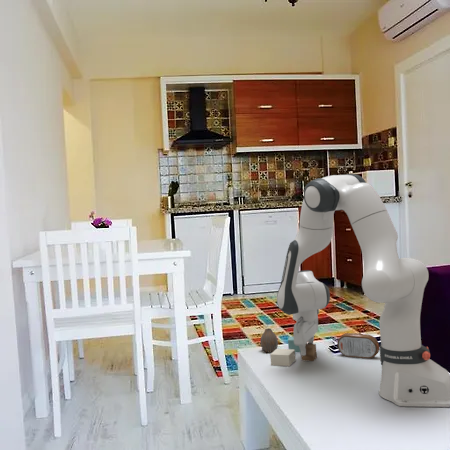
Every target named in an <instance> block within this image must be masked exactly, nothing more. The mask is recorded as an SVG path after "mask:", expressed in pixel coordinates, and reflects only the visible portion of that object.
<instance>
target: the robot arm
mask: <svg viewBox="0 0 450 450" xmlns="http://www.w3.org/2000/svg"><path fill="white" fill-rule="evenodd" d="M302 199H303V200H302V203H301V210H300V216H299V228H298V232H297V234H296V236H295V238H294V239H293V240H292V241H291V242H290V243H289V244H288V249H287V251H286V256H285V261H284V266H283V272H282V275H281V276H282V277H281V282H280V285H279V288H278V291H277V295H276V303H277V307H278V309H279V310H280V311H281V312H283V313H284V314H286V315H288V316H290V315H292V320H294V321H296V323H294V325H293V337H294V344H295V346H299V348H300V351H301V352H300V356H301V355H303V356H305V355H306V354H307V351H306V348H305V346H306V344H314V340H315V335H316V334H317V333H318V330H319V316H318V315H319V314H320V310H322V309H325V308H326V307H328V305H329V304H330V301H331V292H330V288H329V287H328V285H326V284H325V283H323V282H321V281H319V280H318V279H316V277H315V276H314V272H313V271H312V270H309V269H305V270H299V269H300V267H301V264H302V263H303V262H305V260H306V259H308V258H309V257H311V256H313V255H315V254H317V253H320V252H321V251H323V250H325V249H326V248H327V247H328V246H329V245H330V243H331V241H332V239H333V231H334V214H335V211H344V213H345V214H346V215H347V217H348V220H349V223H350V225H351V227H352V229H353V232H354V235H355V236H356V239H357V241H358V245H359V246H360V249H361V254H362V259H363V268H364V269H363V270H364V271H363V272H364V273H363V276H362V279H361V288H362V291H363V293H364V295H365V296H366V297H367V298H368V299H369V300H370V301H372V302H373V303H374V302H375V303H378V304H380V303H381V304H384V306H383V311H382V313H381V314H380V317H379V322H378V323H379V334H380V335H379V336H380V344H379V346H380V349H379V359H380V365H381V378H380V385H379V390H378V395H379V396H380V397H381V398H382V399H385V400H386V401H390V402H391V403H393V404H395V405H396V406H398V407H419V408H420V407H421V408H422V407H425V408H426V407H429V408H431V407H432V408H433V407H434V408H441V407H443V408H450V372H449V371H448V370H447V369H446V368H444V367H443V366H441V365H440V364H438V363H437V362H435V361H434V360H432V359H430V358H431V352H430V349H429V347H428V346H424V345H423V344H422V340H421V339H422V337H421V312H422V305H423V304H422V303H423V298H424V292H425V288H426V286H427V283H428V281H429V279H430V278H429V275H430V274H429V270H428V268H427V266H426V265H425V263H423V262H422V261H421V260H420V259H417V258H413V257H402V258H401V257H400V258H399V252H398V247H397V242H398V238H399V235H398V231H397V230H396V227H395V226H394V223H393V221H392V219H391V217H390V214H389V212H388V210H387V207H386V205H385V204H384V202H383V200H382V199H381V196H380V195H379V194H378V192H377V191H376V189H375V188H374V187H373V185H371V184H370V183H368V182H367V181H366V180H365V179H364V178H363V177H362V176H360V175H359V174H355V173H346V174H338V175H337V174H333V175H332V174H331V175H327V176H324V177H322V178H321V177H320V178H319V177H318V178H316V179H313V180H310V181H309V182H308V183H307V184H306V185H305V187H304V190H303V198H302Z"/></svg>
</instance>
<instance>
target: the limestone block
mask: <svg viewBox="0 0 450 450" xmlns="http://www.w3.org/2000/svg"><path fill="white" fill-rule="evenodd" d="M269 354H270V355H269V356H270V357H269V358H270V366H277V367H291V366H292V364H294V362H295V361H296V353H295V350H294V349H289V348H288V349H287V348H277V349H276V350H275V351H274V352H270V353H269Z"/></svg>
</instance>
